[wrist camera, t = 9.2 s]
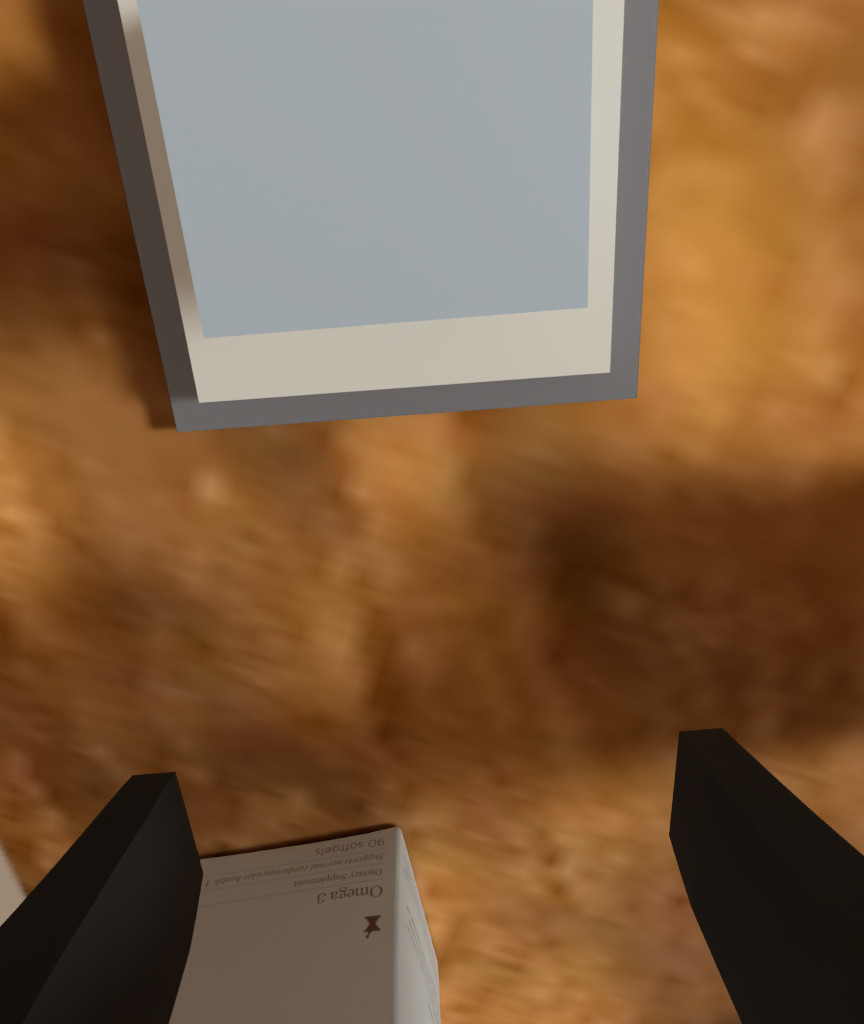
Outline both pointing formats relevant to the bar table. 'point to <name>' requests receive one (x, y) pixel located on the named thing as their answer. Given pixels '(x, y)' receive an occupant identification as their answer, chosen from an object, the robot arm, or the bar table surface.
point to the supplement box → (311, 938)
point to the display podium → (407, 345)
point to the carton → (376, 157)
